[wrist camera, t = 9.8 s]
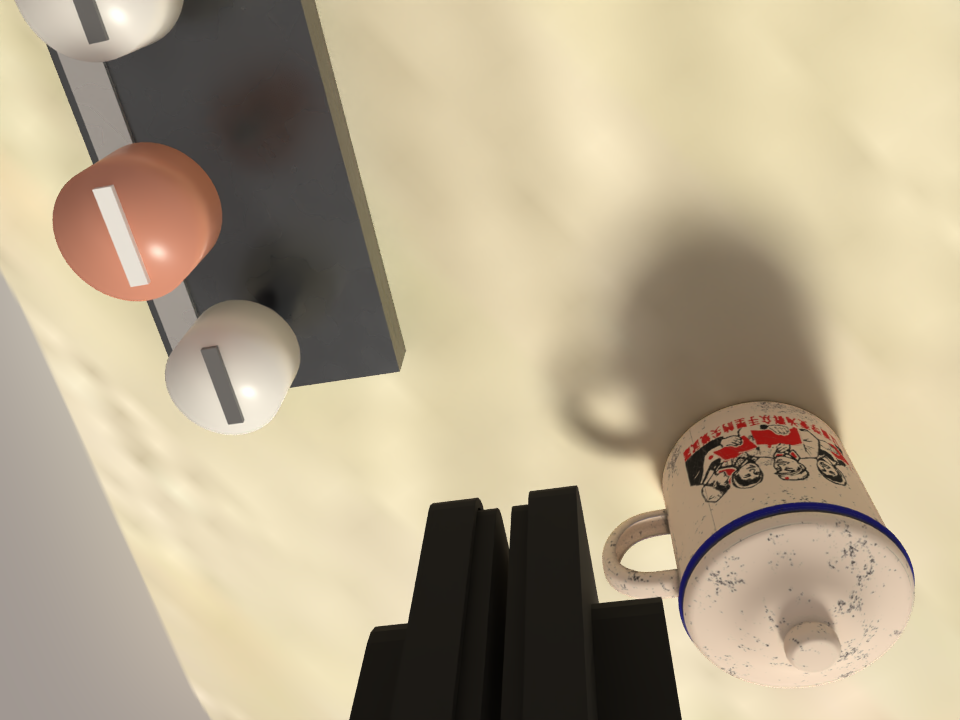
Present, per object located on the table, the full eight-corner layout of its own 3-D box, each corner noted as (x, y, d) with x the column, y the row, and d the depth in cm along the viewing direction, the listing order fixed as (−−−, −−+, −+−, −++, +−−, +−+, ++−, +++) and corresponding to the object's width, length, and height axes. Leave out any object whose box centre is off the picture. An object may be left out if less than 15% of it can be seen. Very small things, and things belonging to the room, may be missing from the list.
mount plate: (16, -107, 34) (-16, -107, 32) (270, -168, 33) (253, -172, 31) (201, 381, 44) (185, 405, 42) (405, 351, 42) (399, 373, 40)
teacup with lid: (849, 379, 41) (950, 545, 31) (852, 539, 45) (942, 733, 35) (583, 415, 43) (595, 584, 33) (609, 566, 47) (627, 758, 37)
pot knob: (102, 137, 32) (26, 181, 28) (220, 114, 32) (162, 155, 27) (147, 253, 34) (82, 313, 30) (258, 233, 34) (211, 292, 29)
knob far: (195, 285, 38) (145, 343, 33) (296, 268, 37) (260, 325, 33) (229, 377, 40) (186, 444, 35) (325, 363, 39) (295, 429, 35)
